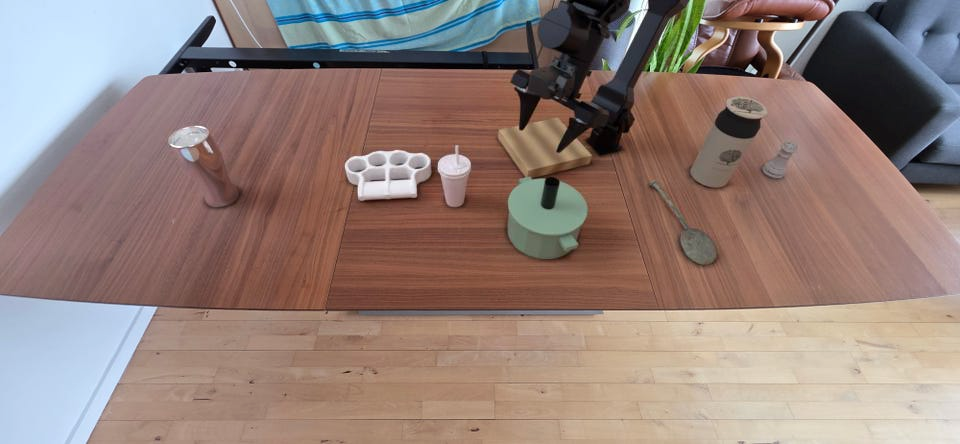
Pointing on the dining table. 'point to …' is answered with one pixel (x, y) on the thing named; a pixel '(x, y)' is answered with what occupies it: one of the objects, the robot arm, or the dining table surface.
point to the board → (542, 148)
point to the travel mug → (728, 141)
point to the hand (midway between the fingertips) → (538, 141)
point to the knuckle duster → (388, 174)
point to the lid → (547, 207)
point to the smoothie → (454, 177)
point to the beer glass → (204, 164)
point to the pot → (540, 240)
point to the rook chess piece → (780, 161)
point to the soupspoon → (693, 237)
